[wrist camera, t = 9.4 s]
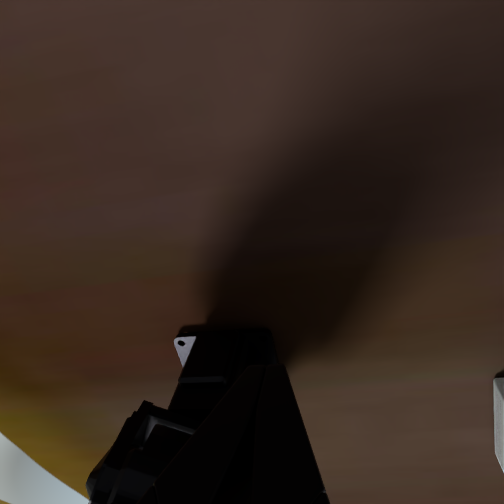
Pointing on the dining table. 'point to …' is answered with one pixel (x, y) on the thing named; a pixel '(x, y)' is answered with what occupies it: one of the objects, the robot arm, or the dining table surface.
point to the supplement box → (499, 419)
